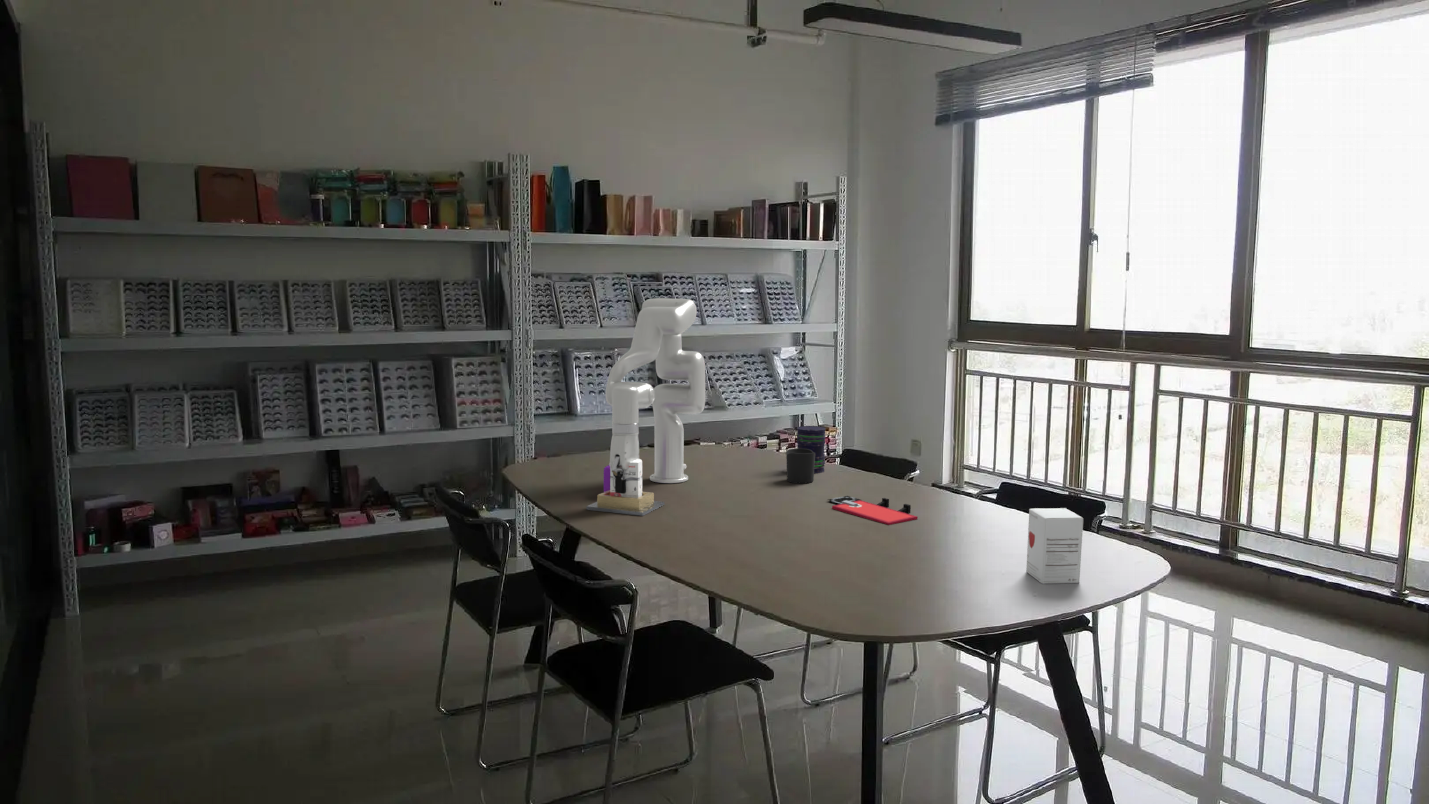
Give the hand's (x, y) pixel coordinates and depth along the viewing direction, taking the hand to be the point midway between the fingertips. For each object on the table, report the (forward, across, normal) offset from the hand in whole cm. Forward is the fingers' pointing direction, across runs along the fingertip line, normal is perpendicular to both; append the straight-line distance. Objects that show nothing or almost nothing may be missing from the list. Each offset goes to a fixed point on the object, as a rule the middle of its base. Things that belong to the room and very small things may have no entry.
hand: (625, 490), depth 281 cm
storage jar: (+6, -74, +33) cm, 81 cm away
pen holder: (+6, -56, +35) cm, 66 cm away
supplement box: (+5, +20, +118) cm, 120 cm away
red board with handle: (+6, -25, +65) cm, 70 cm away
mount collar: (+5, 0, 0) cm, 5 cm away
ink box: (+3, 0, 0) cm, 3 cm away
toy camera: (+5, -16, -9) cm, 19 cm away
